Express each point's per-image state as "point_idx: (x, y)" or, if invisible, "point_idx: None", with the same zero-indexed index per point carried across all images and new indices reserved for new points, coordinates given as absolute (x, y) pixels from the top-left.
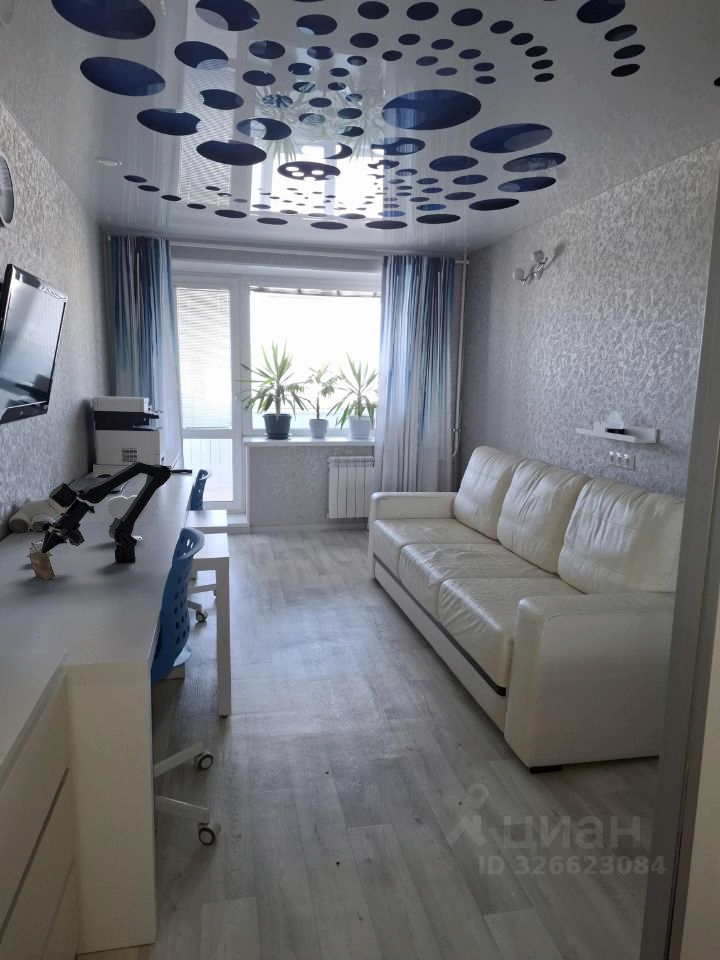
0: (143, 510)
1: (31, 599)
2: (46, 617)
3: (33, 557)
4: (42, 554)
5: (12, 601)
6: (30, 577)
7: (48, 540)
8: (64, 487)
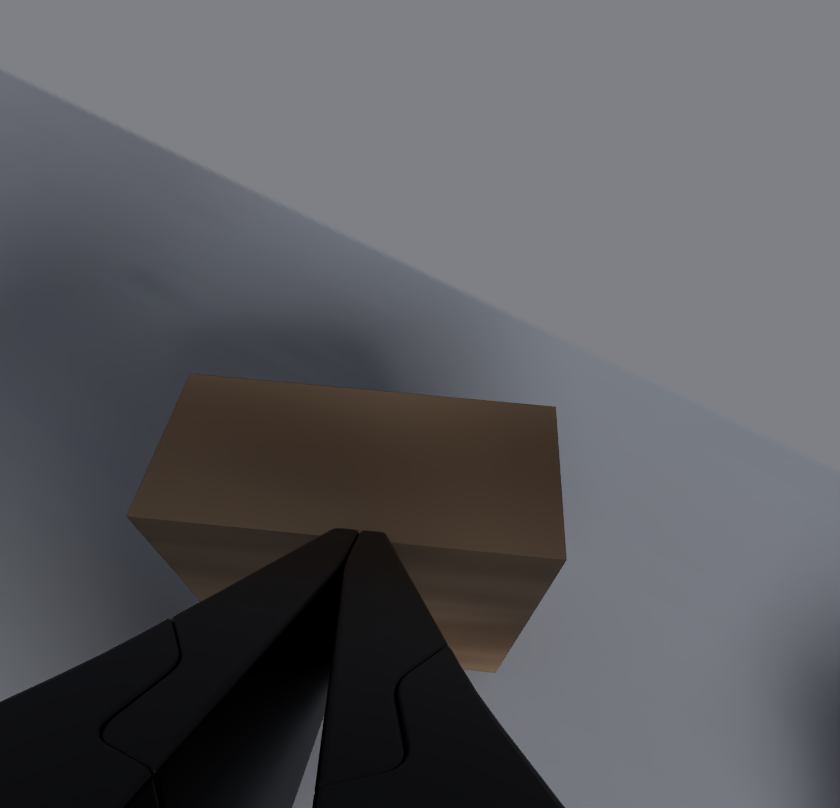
0: None
1: None
2: None
3: (388, 401)
4: (265, 489)
5: (61, 122)
6: None
7: (114, 665)
8: None
